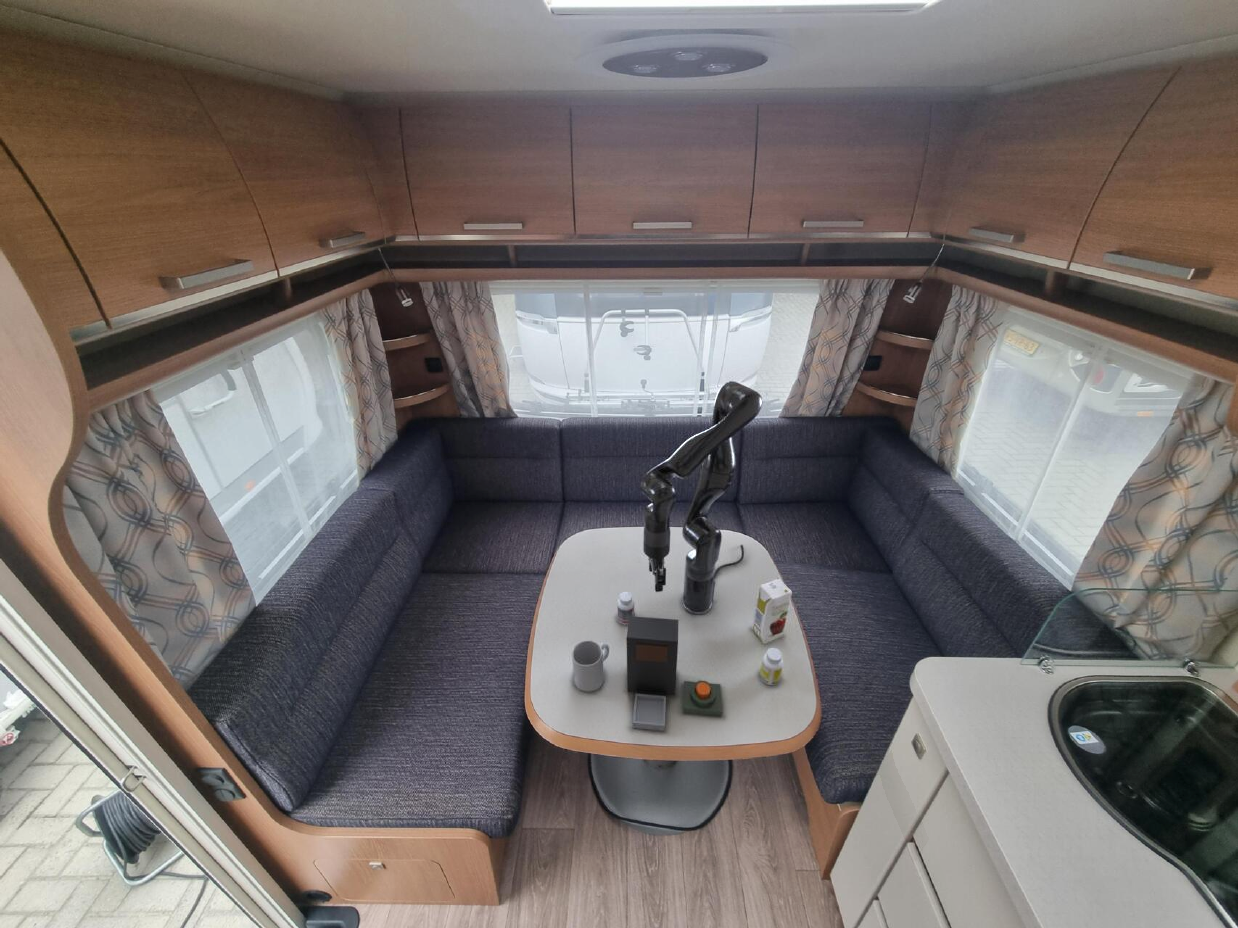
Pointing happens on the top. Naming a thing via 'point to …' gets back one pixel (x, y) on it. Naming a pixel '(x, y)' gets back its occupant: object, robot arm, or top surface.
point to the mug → (589, 664)
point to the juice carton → (771, 610)
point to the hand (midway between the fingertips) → (655, 580)
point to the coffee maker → (651, 668)
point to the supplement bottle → (771, 666)
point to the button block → (700, 705)
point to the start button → (703, 690)
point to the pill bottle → (625, 607)
